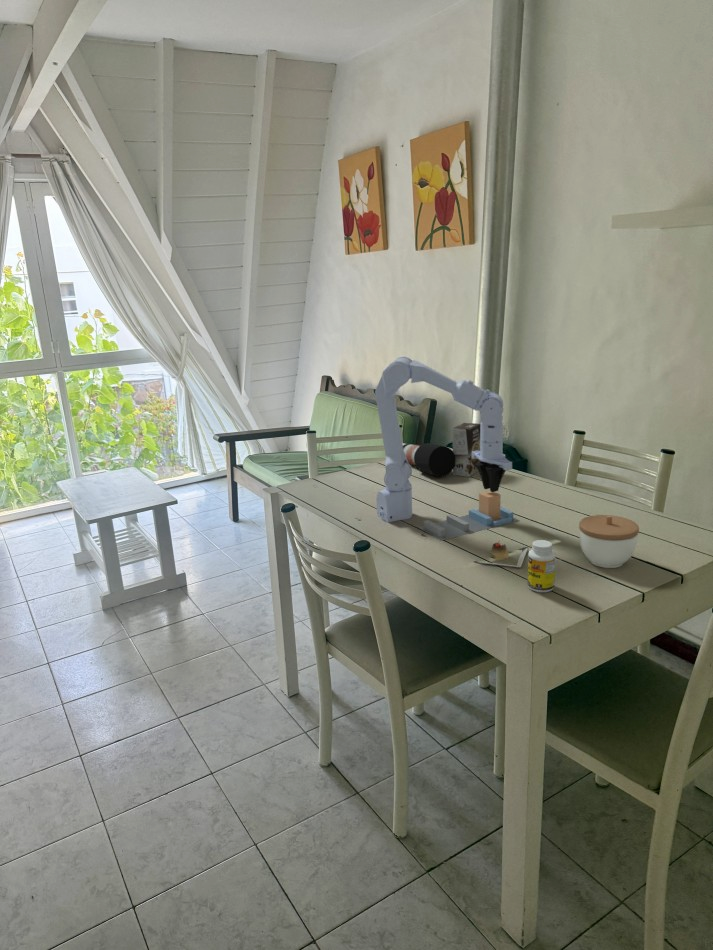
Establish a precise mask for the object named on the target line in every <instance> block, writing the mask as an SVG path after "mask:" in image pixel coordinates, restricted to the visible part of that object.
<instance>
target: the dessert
mask: <svg viewBox="0 0 713 950" xmlns="http://www.w3.org/2000/svg"><path fill="white" fill-rule="evenodd" d="M506 545H507V544H505V541H504V540H502V539H499V540H498V542H495V543H493V544H492V547H491V549H490V554H491V555H492V556H490V559H493V560H498V561H501V560H502V561H503V560H506V559H508V558H509V556H510V555H509V552H508V548H507V546H506ZM528 549H529V546H526V547H522V548H518V549H516V550H519V551H521V553H520V555H519V558H518V561H517V564H516V565H512V564H504V563H494V562H487V561H486V562H485V561H478V560H476V561H473V563H476V564H477V563H478V564H483V565H484V564H486V565H493V566H499V567H500V566H501V567H502V566H503V567H509V568H521V567H522V565H523V562H524V559H525V557H526V555H527V552H528Z"/></svg>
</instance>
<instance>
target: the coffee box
mask: <svg viewBox="0 0 713 950" xmlns="http://www.w3.org/2000/svg"><path fill="white" fill-rule="evenodd" d="M480 426H481V423H476V422H475V423H473V422H472V423H471V422H463V423H460V424H458V425H455V427H452V451H453V453H454V455H455V465H454V468H453V470H452V475H453V476H458V477H459V476H461V477H467V478H471V476H474V475H475V474H476V473H479V471H478V469H477V467H476V463H479V462H480V460H479V459H473V458H472V451H477V450H478V451H480Z"/></svg>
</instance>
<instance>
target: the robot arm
mask: <svg viewBox="0 0 713 950" xmlns="http://www.w3.org/2000/svg"><path fill="white" fill-rule="evenodd" d="M410 379H411V381H410V383H411V384H414V383H421V382H425V383H427V384H429V385H431V386H434V387H436V388H439V389H441V390H443V391H445V392H446V393H449V394H451V395H452V398H453V400H454V401H455V402H457V403H459V404H461V405H464V406H466V407H467V408H469V409H471V410H473V411H475V412H476V411H479V413H480V414H481V422H480V424H481V426H480V451H478V450H477V451H472V458H473V459H479V460H480V462H479V463H476V467H477V469H478V473H479V476H480V478H481V482H482V486H483V489H484V490H488V489H489V491H491V492H495V493H496V492H498V491H499V488H500V487H501V482H502V480H503V477H504V475H505V472H507V471H511V470H513V462H512V461H510V460H508V458H506V454H504V453H503V444H504V443H503V442H504V440H503V439H504V422H503V412H504V410H505V409H504V408H505V407H504V400H503V398H502V397H501V395H500V394H498V393H497V392H494V391H493V392H492V391H491V390H490V389H483V388H481V387H480V386H477V385H475V384H474V381H473V380H471V379H469V380H468V381H467V380H465V379H463V380H460V381H456V380H454V379H452V378H451V377H448V376H447V375H445V374H442V373H441V372H439V371H437V370H435V369H433V368H432V367H430V366H428V365H426V364H424V363H422V362H420V361H418V360H415V359H414V360H412V359H411V358H410V357H407V356H399V357H397V358H396V359H395V360H394V361H392V362H391V363H389V364H388V366H387V367H386V368H385V369H384V370H382V374H381V377H380V379H379V381H378V384H377V386H376V388H375V391H374V395H375V396H374V397H375V401H376V407H377V413H378V417H379V419H378V420H379V425H380V429H381V436H382V440H383V441H382V442H383V448H384V452H385V463H384V468H385V473H384V476H383V481H384V485H385V488H384V489H381V490H380V491H378V492H377V494H376V514H377V515H376V516H377V517H378V518H379V519H381V520H383V521H384V522H386V523H391V522H396V521H402V520H403V521H404V520H408V519H411V518H412V517H413V491H412V489H413V485H412V484H411V482H410V480H409V479H410V478H411V476H412V473H413V468H412V466H411V464H410V463H409V462H408V461H407V458H406V454H405V453H404V451H403V445H402V443H403V440H402V433H401V428H400V422H399V417H398V409H397V403H396V399H395V398H396V397H395V395H396V394H397V392H398V391H399V390H400V388H402V387H403V386H404V385H406V384H407V383H408V382H409V380H410Z"/></svg>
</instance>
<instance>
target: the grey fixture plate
mask: <svg viewBox="0 0 713 950" xmlns="http://www.w3.org/2000/svg"><path fill="white" fill-rule="evenodd" d="M518 521H520V519H518V518H517V517H516V518H515V517H514V511H511V510H509V509H507V508H505V507H502V506H500V519H499V520H495V521H492V518H491V517H489V516H487V515H485V514H483V513H481V512H479V508H478V509H474V508H472V509H469V510H468V514H466V515H462V516H455V515H453V514H446V520H441V521H438V522H434V521H432V520H430V519H426V520H423V525H421V526H417V528H419V529H420V530H422V531H423V532H426V534H429V535H430V536H433V537H434V538H436V539H437V540H439V541H445V540H446V541H447V540H450V539H454V538H458V537H461V536H464V535H468V534H469V535H470V534H472V533H475V532H481V531H483V530H487V529H491V528H496V527H499V526H504V525H507V524H511V523H515V522H518Z"/></svg>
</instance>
